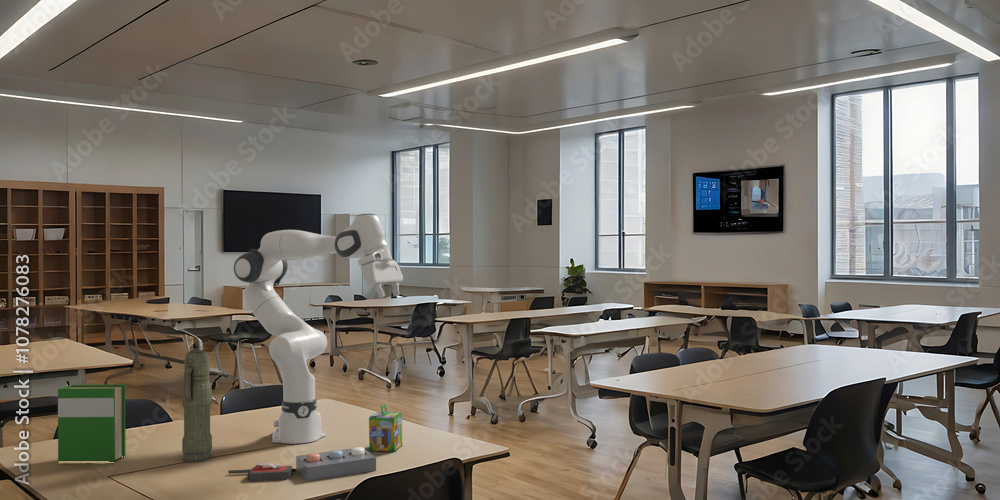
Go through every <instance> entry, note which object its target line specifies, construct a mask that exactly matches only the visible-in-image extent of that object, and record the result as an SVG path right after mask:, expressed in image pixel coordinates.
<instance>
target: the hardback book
mask: <svg viewBox="0 0 1000 500" xmlns="http://www.w3.org/2000/svg"><path fill="white" fill-rule="evenodd" d="M126 441H127V440H126V384H123V383H122V384H116V383H115V384H70V385H66V386H63V387H60V388H58V389H57V462H58V461H109V462H114V461H115V462H116V460H118V459H121V458H120V457H122V456H123V457H124V456H127V454H126V448H127V447H126V443H127V442H126Z"/></svg>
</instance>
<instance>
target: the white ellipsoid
mask: <svg viewBox="0 0 1000 500" xmlns="http://www.w3.org/2000/svg"><path fill="white" fill-rule="evenodd" d="M350 449H351V448H350ZM364 449H365V447H363V446H359V447H358V446H356V447H352V449H351V455H352V456H353V457H354V456H361V455H364Z"/></svg>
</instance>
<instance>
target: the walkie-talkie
mask: <svg viewBox="0 0 1000 500" xmlns="http://www.w3.org/2000/svg"><path fill="white" fill-rule="evenodd" d="M292 466H293V465H282V463H278V464H277V465H275V464H273V463H272V462H264V463H261V462H260V463H256V465H255V466H253V467H252V468H251V469H230V470H228V472H227V474H229V475H231V474H233V475H234V474H247V477H246V478H247V480H249V482H264V481H265V482H266V481H285V480H286V481H288V480H290V479H291V477H292V474H293V473H295V472H296V470H297V469H296V468H293V467H292ZM290 476H291V477H290ZM289 478H290V479H289ZM287 479H288V480H287Z"/></svg>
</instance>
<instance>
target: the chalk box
mask: <svg viewBox="0 0 1000 500" xmlns="http://www.w3.org/2000/svg"><path fill="white" fill-rule="evenodd" d="M384 410H385V411H384ZM368 435H369V436H368V441H369V444H368V445H369V450H368V452H391V453H392V452H393V453H394V452H396V451H397V450H399V449H400V448H402V446H403V413H401V412H391V411H388V407H387V404H386V403H384V404H382V405H381V406H380V411H379V412H376V413H374V414H372V415H370V416H369V418H368Z"/></svg>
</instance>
